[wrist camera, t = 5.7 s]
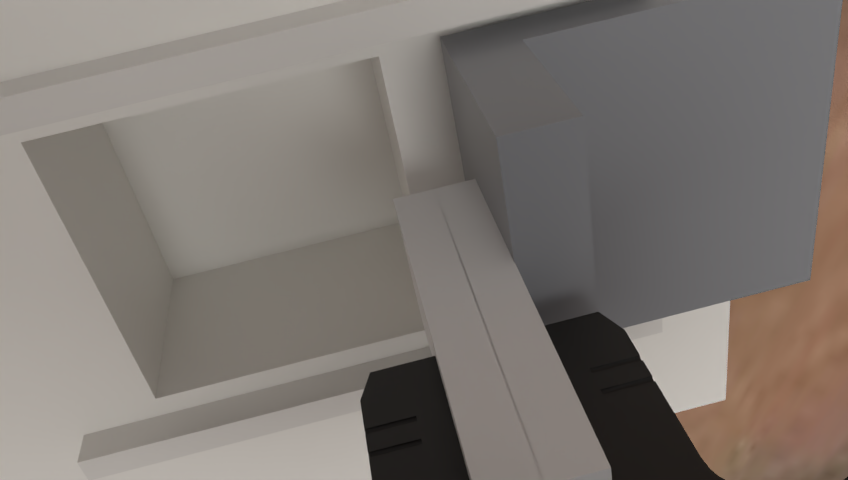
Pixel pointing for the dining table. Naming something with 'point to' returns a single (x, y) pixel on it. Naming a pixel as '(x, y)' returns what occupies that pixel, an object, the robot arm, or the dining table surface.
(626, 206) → the shutter
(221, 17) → the socket
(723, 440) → the dining table surface
